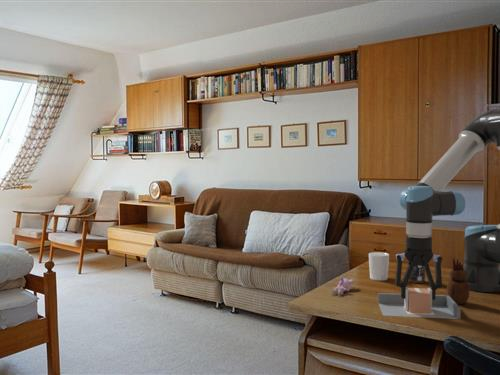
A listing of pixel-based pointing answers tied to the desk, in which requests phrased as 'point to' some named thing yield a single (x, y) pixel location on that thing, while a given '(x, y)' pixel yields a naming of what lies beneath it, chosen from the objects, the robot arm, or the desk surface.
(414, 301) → the cube
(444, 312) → the tray
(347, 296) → the desk surface
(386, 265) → the white cup
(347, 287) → the rabbit figure
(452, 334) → the desk surface
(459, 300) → the wooden figurine
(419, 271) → the supplement bottle
